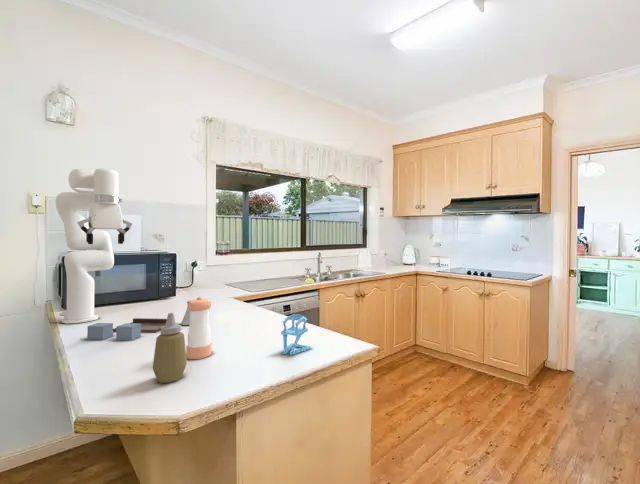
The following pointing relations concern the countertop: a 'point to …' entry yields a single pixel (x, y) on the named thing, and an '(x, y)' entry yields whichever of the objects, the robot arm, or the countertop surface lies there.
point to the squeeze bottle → (169, 352)
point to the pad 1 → (100, 331)
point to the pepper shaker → (199, 329)
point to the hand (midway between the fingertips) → (105, 243)
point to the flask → (186, 316)
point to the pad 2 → (128, 331)
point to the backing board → (148, 324)
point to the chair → (294, 334)
